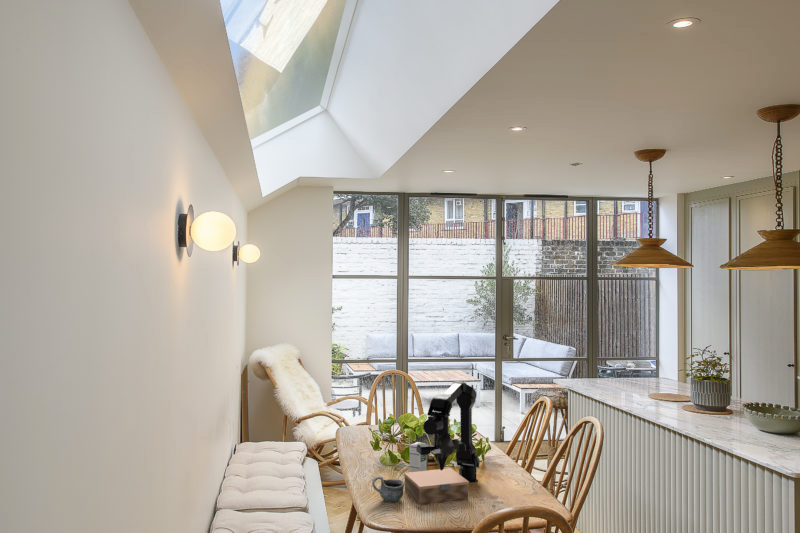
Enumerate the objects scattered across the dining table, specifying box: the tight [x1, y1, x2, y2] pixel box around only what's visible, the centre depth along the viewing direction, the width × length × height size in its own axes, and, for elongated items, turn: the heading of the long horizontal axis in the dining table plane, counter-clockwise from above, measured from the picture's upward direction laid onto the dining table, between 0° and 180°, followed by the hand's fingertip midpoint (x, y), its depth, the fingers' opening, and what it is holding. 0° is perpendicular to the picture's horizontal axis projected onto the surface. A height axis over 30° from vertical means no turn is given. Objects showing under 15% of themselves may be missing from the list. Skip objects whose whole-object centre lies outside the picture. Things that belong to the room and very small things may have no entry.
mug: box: [371, 475, 405, 503], centre depth 237 cm, size 10×12×10 cm
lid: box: [404, 467, 470, 490], centre depth 244 cm, size 20×19×2 cm
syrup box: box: [408, 441, 429, 472], centre depth 266 cm, size 6×6×14 cm
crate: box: [404, 475, 469, 506], centre depth 244 cm, size 20×18×6 cm
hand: (441, 470), depth 238 cm, fingers closed
